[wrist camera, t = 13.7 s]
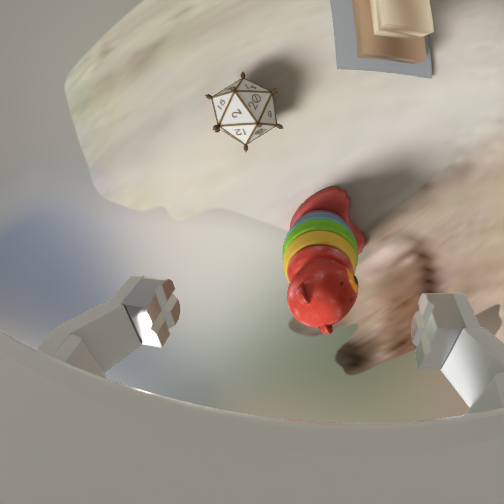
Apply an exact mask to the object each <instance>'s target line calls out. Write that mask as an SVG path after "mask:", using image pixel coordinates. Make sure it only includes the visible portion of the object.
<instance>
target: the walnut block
mask: <svg viewBox="0 0 504 504" xmlns="http://www.w3.org/2000/svg"><path fill="white" fill-rule="evenodd" d="M352 7H353V14H354V23H355V32H356V42H357V54H358V58H369V59H380V60H389V61H397V62H405V63H411V64H415V63H419V62H424V61H426V48H425V37H424V36H423V37H421V38H419V39H416V40H410V39H404V38H397V37H390V36H381V35H374V30H373V21H372V13H371V6H370V0H352Z"/></svg>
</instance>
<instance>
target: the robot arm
mask: <svg viewBox="0 0 504 504" xmlns="http://www.w3.org/2000/svg"><path fill="white" fill-rule="evenodd" d="M174 290H175V288H174V285H173V282H172V281H171V280H170V279H163V278H156V277H147V276H138V275H134V276H131V277H130V278H129V279H128V280H127V281H126V283H125V284H124V285H123V286H122V287H121V288H120V290H119V291H118V292H117V293H116V294H115V296H114V297H113V298H112V299H111V300H110V302H104V303H102V304H100V305H98V306H96V307H94V308H92V309H90V310H88V311H86V312H85V313H83V314H80V315H78V316H77V317H75V318H73V319H71V320H69V321H67V322H65V323H63V324H61V325H59V326H57V327H55V328H54V329H53V331H52V332H51V333H50V334H49V335H48V337H47V338H46V339H45V341H43V343H42V344H41V345H40V346H39V348H38V349H35V348H33V347H31V346H29V345H27V344H25V343H23V342H21V341H20V340H18V339H16V338H14V337H12V336H10V335H8V334H7V333H5V332H3V331H1V330H0V504H504V344H503V343H502V342H501V341H500V340H499V339H498V338H496V337H495V336H494V335H493V334H492V333H490V332H489V331H488V330H487V329H486V328H484V327H480V325H479V323H478V321H477V319H476V316H475V314H474V312H473V310H472V307H471V305H470V303H469V301H468V299H467V297H466V295H465V294H464V293H422V295H421V296H420V299H419V302H418V305H419V308H420V310H419V311H417V312H416V313H415V314H414V318H413V321H412V328H411V335H412V341H413V343H414V344H415V345H416V346H417V349H416V352H415V356H416V361H417V366H418V369H441V371H442V372H443V373H444V374H445V376H446V377H447V378H448V380H449V381H450V382H451V384H452V385H453V386H454V388H455V389H456V390H457V391H458V393H459V394H460V395H461V397H462V398H463V399H464V401H465V402H466V404H467V405H468V406H469V409H468V410H467V412H466V413H465V414H464V415H462V416H455V417H448V418H440V419H431V420H421V421H408V422H389V423H335V422H334V423H333V422H315V421H302V420H291V419H281V418H272V417H264V416H257V415H250V414H244V413H238V412H231V411H226V410H221V409H216V408H210V407H206V406H201V405H197V404H192V403H188V402H183V401H179V400H176V399H172V398H168V397H164V396H161V395H157V394H153V393H150V392H146V391H143V390H140V389H136V388H133V387H130V386H127V385H124V384H121V383H118V382H115V381H112V380H109V379H108V378H107V377H106V375H105V374H104V373H105V372H106V371H107V370H109V369H110V368H112V367H113V366H114V365H115V364H117V363H118V362H120V361H121V360H122V359H124V358H125V357H126V356H128V355H129V354H130V353H132V352H133V351H134V350H136V349H137V348H138V347H140V346H141V345H142V344H145V345H150V346H156V347H161V348H162V347H163V345H164V344H165V342H166V340H167V338H168V337H169V335H170V332H169V328H171V327H173V326H174V325H175V324H176V323H177V321H178V319H179V314H180V304H179V301H178V299H177V298H176V297H175V296H174V295H173V292H174Z"/></svg>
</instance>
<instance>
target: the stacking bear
mask: <svg viewBox="0 0 504 504" xmlns="http://www.w3.org/2000/svg"><path fill="white" fill-rule="evenodd" d="M349 207H350V198H349V197H348V196H347V195H346V191H344V190H340V189H339V188H337V187H331V188H327V189H324V190H322V191H320V192H318V193H316V194H314V195H313V196H311V197H310V198H308V199H307V200H306V201H305V202H304V203H303V204H302V205H301V206H300V207H299V208H298V209H297V211H296V212H295V214H294V216H293V218H292V220H291V224H290V230H289V232H288V234H287V236H286V239H285V241H284V245H283V264H284V271H285V274H286V278H287V280H288V282H289V283H290V284H289V287H288V292H287V302H288V306H289V309H290V311H291V313H292V314H293V316H294V317H295V318H296V319H297V320H298V321H299V322H301V323H303V324H305V325H307V326H311V327H318V328H319V329H320V331H321V332H322V333H324V334H331V333H332V331H333V329H332V325H333V324H335V323H337V322H338V321H340V320H341V319H342V318H344V317H345V316H346V315H347V313H348V312H349V311H350V309H351V308H352V307H353V305H354V303H355V301H356V298H357V295H358V280H357V278H356V277H355V275H354V274H355V270H356V266H357V261H358V254H360V253H361V252H362V250H363V248H364V246H365V239H364V234H363V233H362V232H361V231H360V230H359V229H357V228H356V227H355V226H354V225H353V224H352V222H351V220H350V217H349Z"/></svg>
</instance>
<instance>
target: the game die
mask: <svg viewBox="0 0 504 504" xmlns="http://www.w3.org/2000/svg"><path fill="white" fill-rule="evenodd" d="M241 77H242V78H241V79H240V80H238V81H236V82H235V83H233V84H232V85H230V86H228V87H227V88H225V89H224V90H222V91H220V92H219V93H217V94H216V95H214V96H211V95H209V94H208V95H205V96H206V97H207V98H208V99H212V104H213V108H214V112H215V116H216V120H217V125H215V126H214V127H213V130H215V132H219V131H220V130H222V131H223V132H225V133H227V134H228V135H230V136H231V137H233V138H235V139H236V140H238V141H239V142H241V143H242V144H244V150H245V152H247V150H248V146H247V144H249V143H250V142H252V141H253V140H255V139H257V138H258V137H260V136H261V135H263V134H264V133H266V132H268V131H269V130H271V129H272V128H274V127H278V128H279V129H284V128H283V127H282V125H280V124H277V119H276V112H275V105H274V97H273V93H276V92H277V91H278V89H279V88H274V89H272V91H270V90H268V89H266V88H264V87H262V86H260V85H258V84H255V83H253V82H251V81H249V80H247V79H245V73H244V72H242V73H241Z"/></svg>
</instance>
